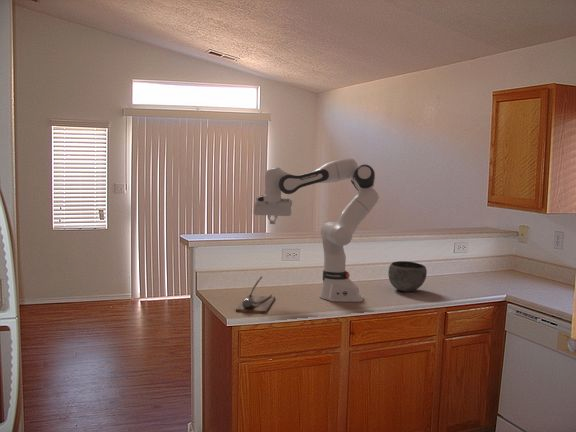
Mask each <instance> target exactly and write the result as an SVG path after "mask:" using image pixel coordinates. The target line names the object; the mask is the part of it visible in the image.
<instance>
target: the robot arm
mask: <svg viewBox="0 0 576 432" xmlns="http://www.w3.org/2000/svg"><path fill="white" fill-rule="evenodd" d="M264 175H265V176H264V186H265V187H264V188H265V190H264V195H261V196H258V197H256V198H255V201H256V202H255V203H254V207H253V215H254V216H267V219H268V220H269V225H276V221H277V219H278V217H290V216H292V206H293V200H292V199H290V198H282V193H283V194H285V195H291V194H294V193H296V192H297V191H298V190H299V189H301V188H304V187H307V186H311V185H314V184H322V183H323V184H328V183H337V182H339V181H340V182H341V181H344V180H350V182H351V184H352V185H353V187H354V188H355V189H356V191H358V192H357V194H356V195H355V196H354V197H353V198H352V199H351V201H349V202H348V203H347V205H346V206H345V207H344V208H343V209H342V211H341V212H342V213H341V215H340V216H339V217H338V219H337V221H327V222H325V223H324V224H322V226H321V228H320V235H321V238H322V241H321V242H322V249H323V258H324V259H323V260H324V261H323V270H322V287H321V291H320V293H319V297H320V298H321V299H324V300H327V301H329V302H345V303H346V302H347V303H351V302H352V303H360V302H363V301H364V296H363V295H362V294H361V293H360V289H359V286H358V284H356V283H355V282H354V281H352V279H350V272H349V271H347V270H346V259H347V258H346V257H347V256H346V252H345V248H344V246H347V245H349V244H350V243H351V242H352V239H353V235H354V233H355V231H356V230H357V228H358V227H359V225H360V224H361V222H362V221H364V219H365V218H366V217H367V215H368V214H369V213H370V212H372V210H373V209H374V207H375V206H376V204H377V203H378V201H379V197H380V196H379V193H378V192H377V191H376V189H374V186H375V182H376V174H375V170H374V169H373V167H372V166H371V165H370V164H369V165H368V164H361V165H358V163H357V161H356V160H355V159H354V158H351V157H350V158H341V159H336V160H332V161H329V162H327V163H324V164H323V165H321V166H320V167H318V168H317V169H315V170H313V171H310V172H307V173H303V174H298V175H294V174H291V173H289V172H286V171H285V170H282V169H281V168H280V167H273V168H269V169H267V170H266V171H265V174H264ZM271 216H272V217H274V220H272V219H271Z"/></svg>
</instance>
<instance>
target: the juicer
mask: <svg viewBox="0 0 576 432" xmlns="http://www.w3.org/2000/svg"><path fill="white" fill-rule="evenodd" d="M262 279H263V276H260V277H259V278H258V280H257V281H256V282H255V283H254V286H253V287H252V289H251V291H250V293H249V296H248V295H247V296H248V297H247V296H246V297H247V298H246V297H245V298H244V299H243V300H242V302H241V303H242V306H243V307H244V308H245V309H249V308H251V307H252V305H253V303H254V304H255V305H256V304H259V303H262V302H264V301H266V300H267V299H269V298H270V297H273V294H270V295H268V297H267V298H265V299H264V300H261V301H259V302H255V301H254V299H253V297H252V295H253V292H254V290H255V289H256V287H257V285H258V284H259V283H260V281H261V280H262Z"/></svg>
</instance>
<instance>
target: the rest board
mask: <svg viewBox="0 0 576 432" xmlns="http://www.w3.org/2000/svg"><path fill="white" fill-rule="evenodd" d="M249 295H250V294H249ZM249 295H247V296H246V297H245V298H247V297H248V296H249ZM268 296H269V295H268ZM268 296H267V295H254V294H252V297H253V299H254V301H255V302H259V301H261V300H264V299H265V298H267V297H268ZM275 300H276V296H271V297H270V298H269V299H267V300H266V301H264V302H262V303H259V304H256V305H255V304H254V303H253V305H252V307H251V308H249V309H245V308H244V307H243V306H242V302H241V303H240V304H239V305H238V306H237V307H236V308H235V312H238V313H250V314H267V312H268V310H269V309H270V308H271V306H272V305H273V303H274V302H275Z"/></svg>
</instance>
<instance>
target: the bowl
mask: <svg viewBox="0 0 576 432" xmlns="http://www.w3.org/2000/svg"><path fill="white" fill-rule="evenodd" d="M427 273H428V272H427V267H426V266H425V265H423V264H421V263H417V262H414V261H406V260H405V261H403V260H399V261H393V262H391V263H390V265H389V267H388V280H389V282H390V284H391V286H392V287H394V289H396V290H397V291H400V292H405V293H406V292H409V293H410V292H413V291H416V290H418V289H419V288H420V287H422V285H423V284H424V283H425V281H426V278H427Z"/></svg>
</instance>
